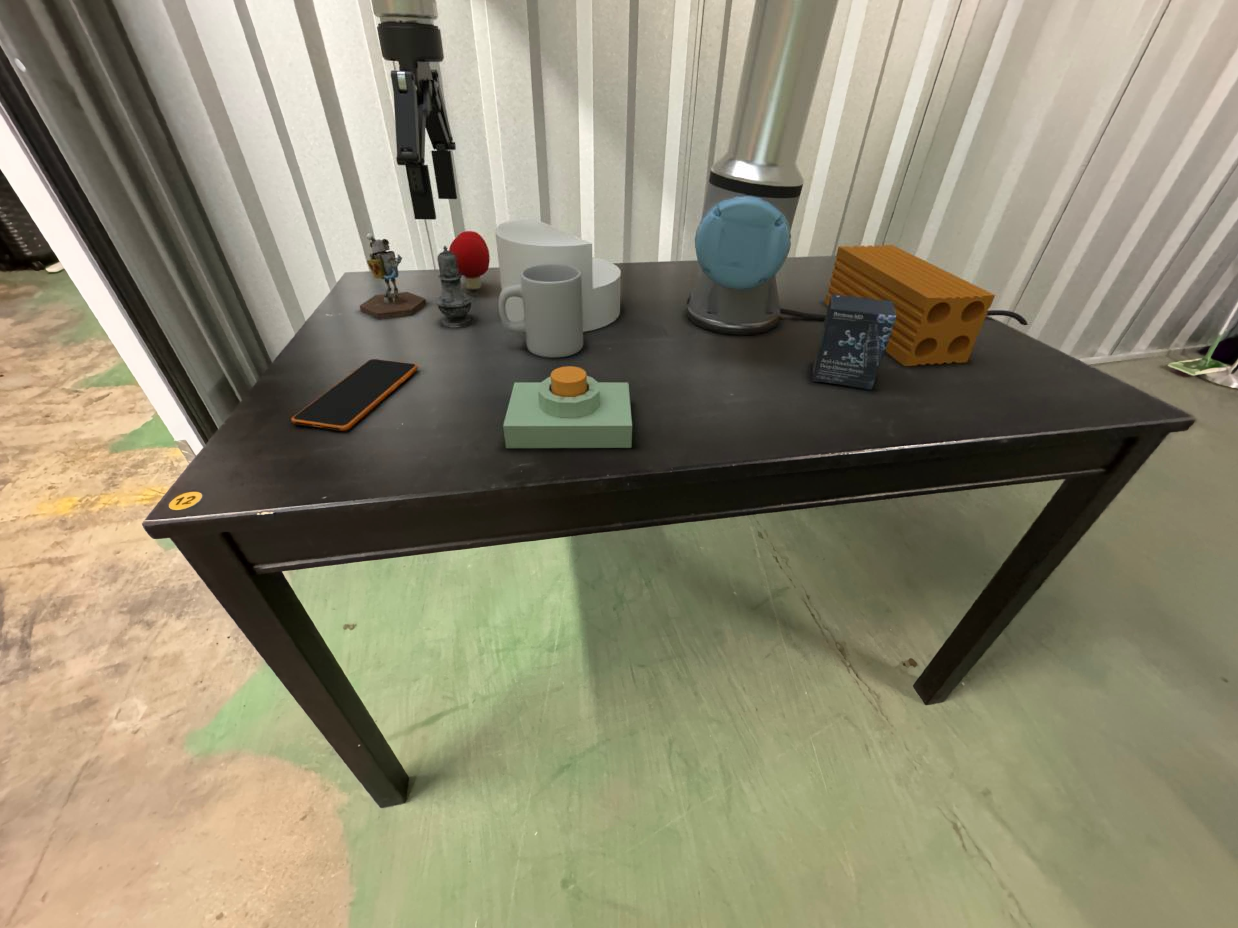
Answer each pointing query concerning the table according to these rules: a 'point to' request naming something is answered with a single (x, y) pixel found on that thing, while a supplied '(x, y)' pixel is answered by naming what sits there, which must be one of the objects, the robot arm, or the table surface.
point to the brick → (914, 302)
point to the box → (853, 341)
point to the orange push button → (569, 381)
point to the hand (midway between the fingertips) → (437, 208)
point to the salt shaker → (452, 293)
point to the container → (548, 245)
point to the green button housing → (569, 417)
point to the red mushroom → (471, 257)
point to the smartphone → (355, 395)
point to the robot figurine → (386, 269)
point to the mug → (548, 309)
